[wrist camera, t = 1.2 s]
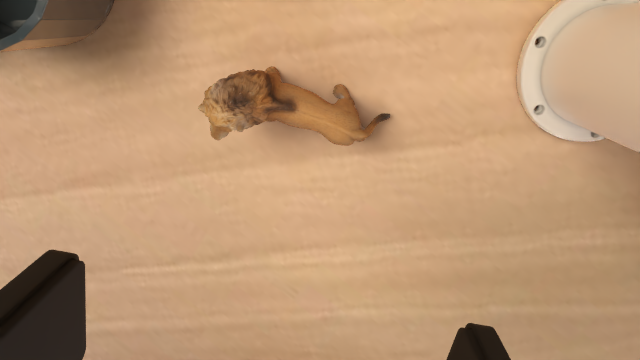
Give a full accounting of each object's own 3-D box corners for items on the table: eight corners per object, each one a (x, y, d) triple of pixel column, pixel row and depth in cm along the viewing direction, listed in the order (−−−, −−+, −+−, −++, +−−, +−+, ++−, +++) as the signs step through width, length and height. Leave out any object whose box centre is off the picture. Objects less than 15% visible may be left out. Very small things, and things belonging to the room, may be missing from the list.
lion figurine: (222, 117, 38) (191, 146, 29) (226, 57, 36) (193, 69, 27) (383, 141, 38) (398, 176, 30) (395, 82, 36) (414, 102, 28)
